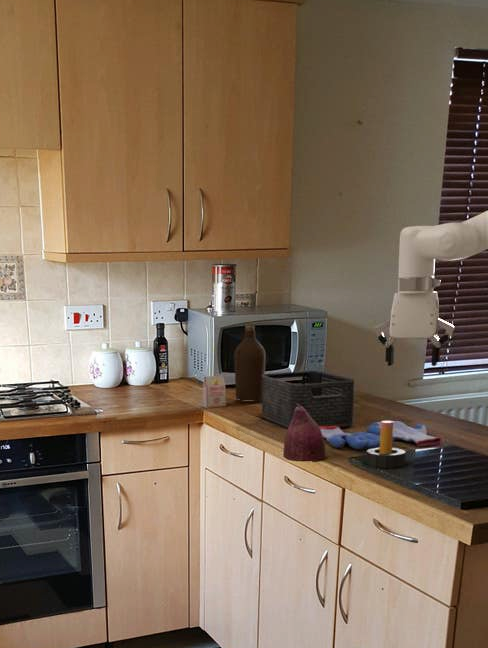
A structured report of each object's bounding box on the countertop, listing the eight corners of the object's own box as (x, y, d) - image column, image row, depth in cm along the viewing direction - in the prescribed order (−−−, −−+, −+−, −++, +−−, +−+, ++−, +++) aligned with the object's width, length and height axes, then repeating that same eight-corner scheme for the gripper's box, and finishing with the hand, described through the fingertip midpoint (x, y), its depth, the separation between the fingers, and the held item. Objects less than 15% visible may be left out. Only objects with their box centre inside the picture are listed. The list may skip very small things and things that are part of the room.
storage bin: (258, 416, 271) (258, 372, 267) (316, 412, 276) (317, 369, 272) (294, 432, 245) (295, 384, 241) (357, 427, 250) (359, 380, 245)
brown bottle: (260, 404, 293) (261, 327, 285) (230, 403, 297) (230, 327, 289) (268, 399, 302) (269, 324, 294) (239, 398, 306) (239, 324, 298)
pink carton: (202, 406, 293) (202, 376, 289) (221, 404, 294) (221, 374, 291) (206, 408, 289) (206, 377, 286) (225, 406, 291) (225, 376, 288)
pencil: (392, 462, 208) (394, 421, 204) (389, 465, 205) (392, 423, 202) (380, 462, 209) (382, 420, 206) (377, 464, 207) (379, 422, 203)
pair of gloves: (401, 427, 249) (402, 414, 247) (459, 443, 226) (460, 429, 225) (302, 438, 238) (302, 424, 237) (352, 456, 216) (353, 441, 214)
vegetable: (302, 476, 211) (297, 419, 203) (275, 463, 219) (269, 408, 211) (335, 459, 215) (331, 403, 207) (308, 447, 223) (303, 393, 215)
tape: (407, 461, 209) (408, 448, 208) (400, 469, 202) (401, 456, 201) (370, 458, 213) (371, 446, 212) (362, 466, 205) (363, 454, 204)
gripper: (459, 283, 192) (454, 363, 197) (379, 286, 199) (377, 363, 204) (454, 285, 185) (449, 367, 191) (372, 288, 192) (370, 367, 198)
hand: (412, 365), depth 198 cm, fingers open, 9 cm apart
